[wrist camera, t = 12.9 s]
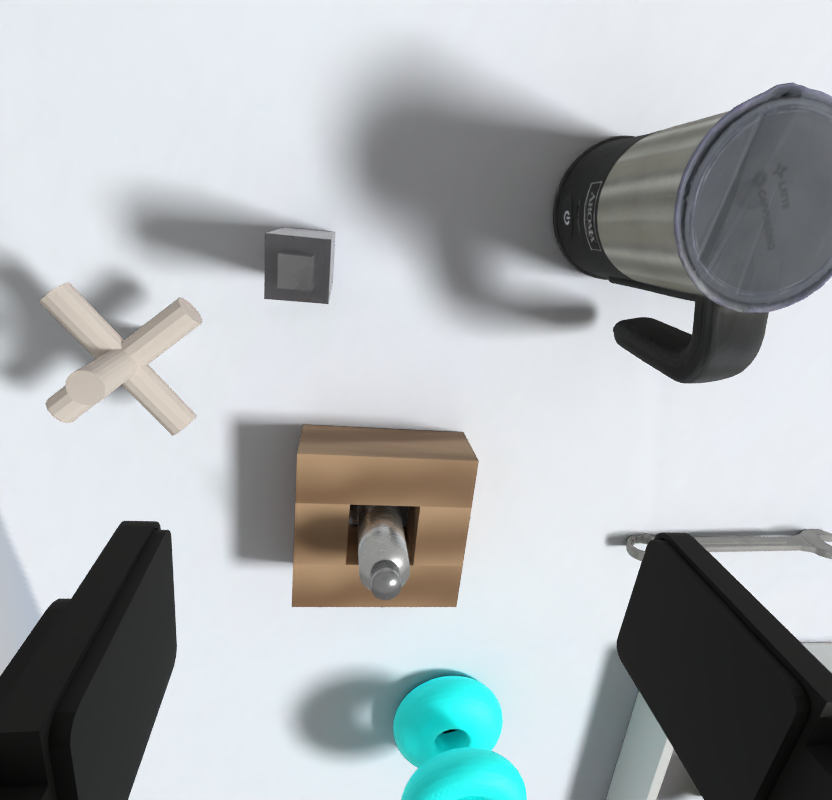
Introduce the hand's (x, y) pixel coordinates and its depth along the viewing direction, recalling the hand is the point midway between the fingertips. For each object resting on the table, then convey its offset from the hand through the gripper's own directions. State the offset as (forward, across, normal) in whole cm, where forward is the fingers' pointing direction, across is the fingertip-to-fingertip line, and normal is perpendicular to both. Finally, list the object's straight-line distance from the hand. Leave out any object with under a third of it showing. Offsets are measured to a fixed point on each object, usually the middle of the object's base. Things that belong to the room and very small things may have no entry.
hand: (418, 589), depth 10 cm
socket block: (+28, -2, +15) cm, 32 cm away
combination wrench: (+28, -34, +18) cm, 47 cm away
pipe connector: (+29, +14, +4) cm, 32 cm away
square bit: (+29, +4, -3) cm, 29 cm away
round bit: (+28, -2, +15) cm, 32 cm away
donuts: (+28, -11, +37) cm, 47 cm away
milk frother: (+29, -21, -7) cm, 36 cm away
